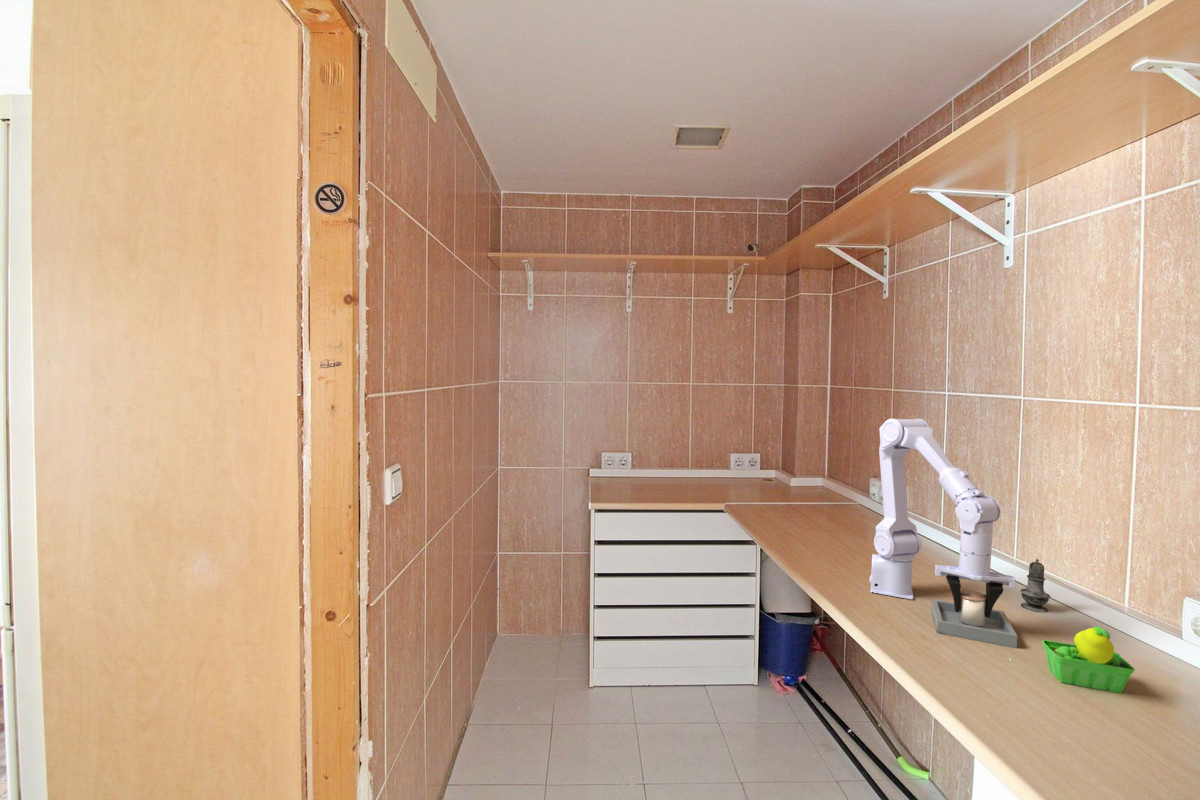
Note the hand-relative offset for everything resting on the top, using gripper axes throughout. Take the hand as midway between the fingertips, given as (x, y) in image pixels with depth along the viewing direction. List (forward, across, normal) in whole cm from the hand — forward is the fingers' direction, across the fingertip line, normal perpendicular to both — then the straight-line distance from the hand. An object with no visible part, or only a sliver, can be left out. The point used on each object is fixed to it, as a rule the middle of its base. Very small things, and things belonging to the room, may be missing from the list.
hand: (971, 613), depth 125 cm
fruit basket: (+3, +16, -17) cm, 23 cm away
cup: (+2, 0, 0) cm, 2 cm away
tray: (+3, 0, 0) cm, 3 cm away
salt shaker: (+3, +16, +21) cm, 26 cm away
